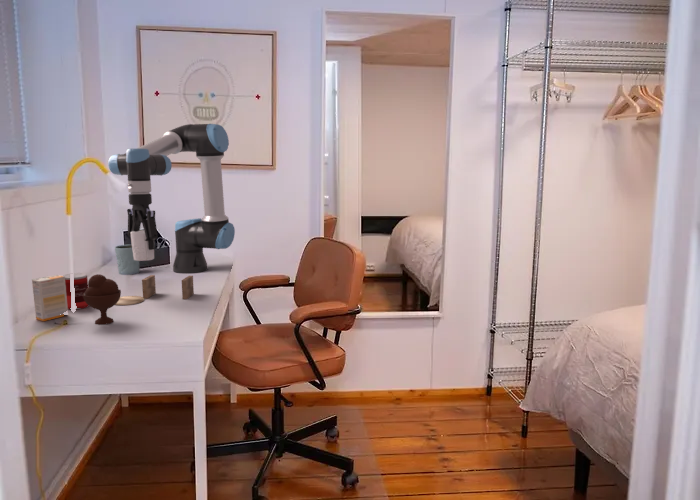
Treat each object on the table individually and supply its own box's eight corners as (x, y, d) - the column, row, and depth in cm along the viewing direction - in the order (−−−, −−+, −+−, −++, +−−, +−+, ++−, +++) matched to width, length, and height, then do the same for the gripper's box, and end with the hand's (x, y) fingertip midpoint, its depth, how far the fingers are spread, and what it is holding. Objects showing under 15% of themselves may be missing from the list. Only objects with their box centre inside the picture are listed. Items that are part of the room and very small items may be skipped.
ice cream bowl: (84, 329, 164) (80, 280, 161) (86, 319, 174) (82, 272, 171) (123, 325, 168) (119, 277, 165) (122, 315, 178) (119, 270, 176)
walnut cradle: (151, 293, 207) (150, 275, 206) (193, 293, 207) (192, 275, 205) (143, 298, 199) (141, 279, 198) (186, 299, 199) (185, 280, 198)
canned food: (71, 303, 192) (68, 272, 190) (93, 304, 192) (91, 273, 190) (59, 309, 185) (56, 277, 183) (82, 309, 184) (80, 277, 183)
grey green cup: (144, 270, 249) (142, 244, 247) (136, 275, 239) (134, 248, 237) (121, 270, 249) (119, 244, 247) (112, 275, 239) (111, 248, 237)
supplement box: (61, 313, 180) (57, 274, 178) (68, 315, 178) (65, 276, 175) (34, 319, 174) (31, 278, 171) (42, 321, 171) (38, 280, 169)
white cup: (159, 259, 196) (157, 231, 195) (137, 262, 191) (135, 233, 189) (149, 256, 202) (148, 229, 200) (128, 259, 197) (126, 231, 195)
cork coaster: (119, 297, 201) (119, 295, 201) (148, 297, 201) (148, 296, 201) (104, 305, 190) (104, 303, 190) (135, 305, 190) (135, 303, 190)
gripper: (114, 192, 196) (118, 255, 199) (147, 194, 184) (150, 262, 187) (133, 191, 202) (137, 253, 205) (166, 193, 189) (169, 259, 193)
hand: (143, 257), depth 196 cm, fingers closed on white cup, 7 cm apart
